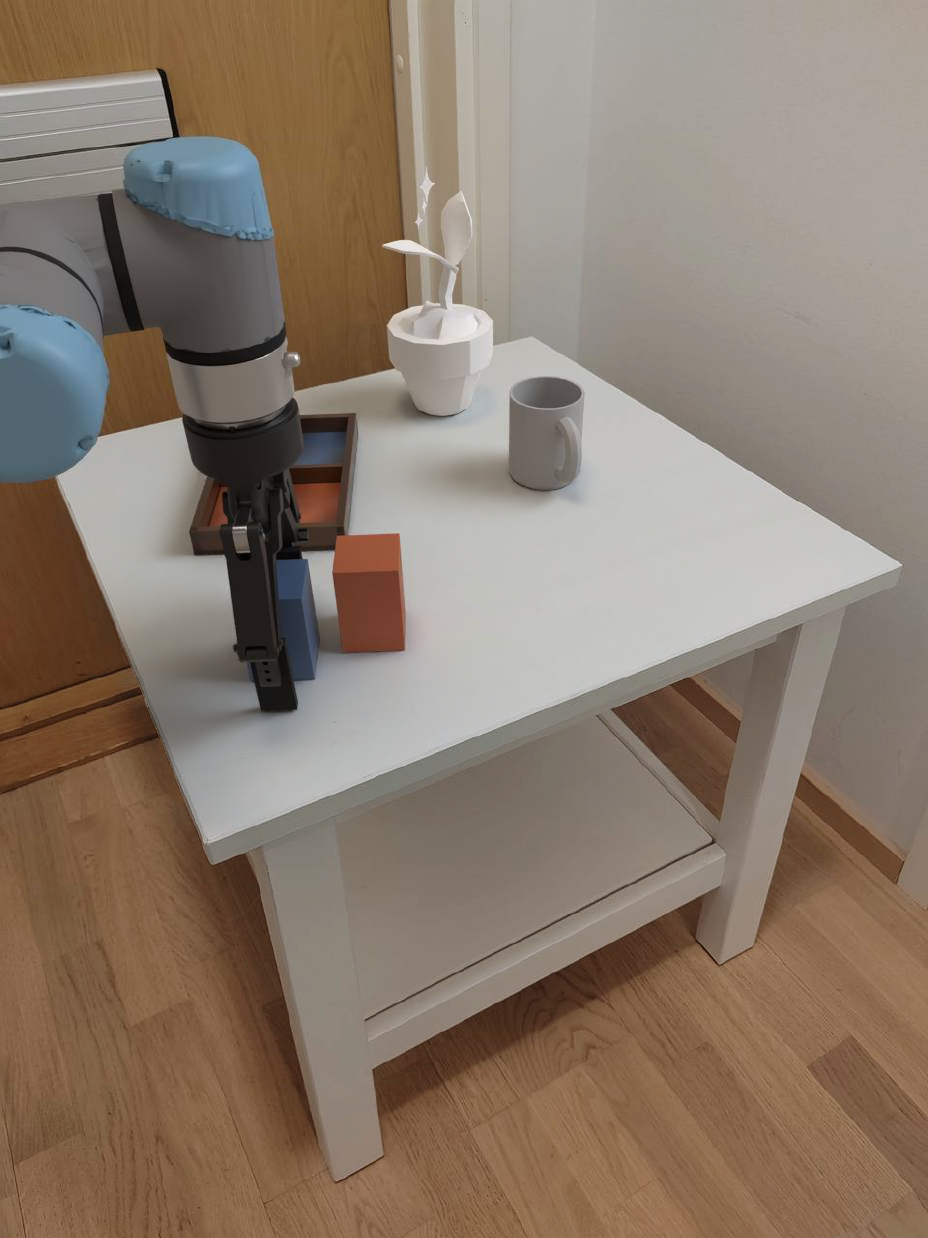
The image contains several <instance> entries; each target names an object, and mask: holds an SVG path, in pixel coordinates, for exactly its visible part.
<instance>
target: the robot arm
mask: <svg viewBox="0 0 928 1238" xmlns="http://www.w3.org/2000/svg"><path fill="white" fill-rule="evenodd" d="M122 168H123V177H124V179H123V181H122V185H123V188H121V189H114V190H111V192H106V193H105V192H104V193H97V194H87V195H77V196H69V197H67V196H66V197H57V198H48V199H37V200H36V199H35V200H27V201H17V202H8V203H7V202H6V203H0V483H7V484H26V483H27V484H28V483H35V482H42V481H46V480H50V479H52V478H55V477H58V476H60V475H61V474H64V473H65V472H67V471H69V470H71V469H72V468H74V467H75V466H76V465H77V464H78V463H79V462H81V461H82V460H83V459H84V458H85V457H86V456H87V455H88V453H89V452H90V451H91V450H92V448H93V447H94V446H95V445H96V444H97V442H98V438H99V435H100V433H101V430H102V427H103V422H104V415H105V407H106V404H107V394H108V392H109V389H110V383H111V382H110V370H109V367H108V363H107V361H106V358H105V349H104V348H105V347H104V338H105V337H107V336H112V335H120V334H127V333H131V332H132V333H133V332H140V331H145V330H146V329H147V330H148V329H153V328H160V331H161V334H162V340H163V345H164V348H165V349H164V351H165V355H166V359H167V364H168V368H169V373H170V377H171V381H172V385H173V386H172V387H173V390H174V394H175V400H176V404H177V408H178V409H179V410H180V411H181V413H182V418H181V422H182V427H183V430H184V434H185V438H186V439H185V440H186V443H187V447H188V452H189V455H190V460H191V463H192V465H193V466H194V467H195V469H196V470H197V471H198V472H199V473H201V474H202V475H203V476H206V477H207V476H208V477H210V478H213V479H216V480H218V481H220V482H222V483H223V484H225V485H226V486H227V487H228V490H227V491H223V493H222V503H223V512H224V514H225V515H226V517H227V521H228V524H221V526H220V530H219V534H220V537H221V540H222V544H223V549H224V553H225V554H224V557H225V561H226V563H225V564H226V570H227V577H228V584H229V592H230V600H231V609H232V615H233V616H232V617H233V623H234V630H235V638H236V643H234V644H233V645H232V646H233V647H232V649H233V653H236V654H237V657H238V661H239V663H241V664H243V663H246V662H250V665H251V669H252V674H253V678H254V682H253V683H254V687H255V691H256V695H257V701H258V705H259V707H260V708H259V709H260V712H279V711H297V710H298V706H299V701H298V696H297V689H296V684H295V680H294V679H293V673H292V668H291V663H290V658H289V652H288V647H287V642H286V637H281V624H280V609H279V594H278V579H277V564H276V560H293V559H304V558H303V551H301V546H295V543H302V542H308V540H309V534H308V528H298V527H297V523H300V519H301V513H300V511H299V507H298V503H297V499H296V495H295V491H294V487H293V483H292V479H291V475H290V471H289V467H291V466H292V465H293V464H294V463H295V462H296V461H297V460H298V459H299V458H300V456H301V454H302V451H303V446H304V443H303V436H302V429H301V422H300V416H299V415H300V410H299V404H298V402H297V401H298V400H297V399H296V398H295V397H294V395H295V392H296V390H295V384H294V383H295V382H294V377H293V375H294V374H293V368H297V367H299V366H300V364H301V357H300V354H299V353H298V352H297V351H288V350H287V348H288V344H289V341H288V337H287V334H288V333H287V326H286V319H285V318H286V317H285V312H284V303H283V295H282V289H281V282H280V274H279V267H278V260H277V251H276V245H275V238H274V237H275V231H274V230H275V229H274V227H273V225H272V222H271V218H270V212H269V206H268V201H267V196H266V192H265V191H266V190H265V187H264V181H263V177H262V172H261V166H260V163H259V160H258V158H257V156H255V154H254V153H252V151H251V150H250V149H249V148H248V147H247V146H245V145H243V144H242V143H240V142H238V141H236V140H234V139H230V138H225V137H219V136H207V135H206V136H205V135H204V136H203V135H201V136H184V137H183V136H182V137H172V138H167V139H165V140H163V141H152V142H148V143H145V144H142V145H138V146H137V147H135V148H133V149H132V150H130V152H128V154H126V155H125V157H124V159H123V163H122ZM265 538H266V540H267V542H264V541H265Z"/></svg>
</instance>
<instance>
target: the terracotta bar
mask: <svg viewBox="0 0 928 1238" xmlns="http://www.w3.org/2000/svg"><path fill="white" fill-rule="evenodd" d="M401 545H402V543H401V534H400V533H373V534H372V533H371V534H348V535H343V536H337V537H336V545H335V550H334V555H333V556H334V557H333V564H332V574H331V575H332V581H333V582H332V583H333V588H334V589H333V590H334V597H335V604H336V610H337V611H336V612H337V618H338V626H339V633H340V641H341V648H342V653H343V654H346V653H349V654H350V653H368V652H369V653H372V652H373V653H374V652H396V651H397V652H398V651H405V650H406V617H407V616H406V615H407V614H406V611H407V610H406V600H405V599H406V597H405V585H404V571H403V559H402V547H401Z"/></svg>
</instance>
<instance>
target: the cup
mask: <svg viewBox="0 0 928 1238" xmlns="http://www.w3.org/2000/svg"><path fill="white" fill-rule="evenodd" d="M585 394H586V393H585V390H584V388H583V387H582V385H580V384H579V383H578V382H576V381H574V380H572V379H569V378H566V377H560V376H553V375H539V376H532V377H527V378H524V379H521V380H519V381H517V382H515V383H514V384H513V385H512V386H511V387H510V390H509V404H508V405H509V408H508V409H509V410H508V412H509V413H508V414H509V415H508V420H509V421H508V471H509V474H510V476H511V477H512V479H513V480H514V481H515V482H516V483H518V484H519V485H521V486H523V487H525V488H527V489H528V488H529V489H532V490H541V491H550V490H556V489H557V490H558V489H561V488H564V487H567V486H568V485H570V484H572V483H573V482H574V481H575V480H576V479H577V478H578V476H579V474H580V471H581V468H582V458H583V451H582V449H583V448H582V447H583V446H582V438H583V423H584V411H585V410H584V406H585Z"/></svg>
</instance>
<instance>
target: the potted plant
mask: <svg viewBox="0 0 928 1238" xmlns="http://www.w3.org/2000/svg"><path fill="white" fill-rule="evenodd" d="M435 184H436V183H435V182H432V181H431V180H430V177H429V174H428V167H427V165H426V166H425V175H424V180H423V182H422V184H421V186H419V187H418V189H421V190H422V191H423V193H424V196H425V200H423V203H422V205H421V206H422V207H421V209H422V211H423V215H425V213H426V209H427V206H428V204H427V203H428V201H429V195H430V192H431V191H430V190H431V189H432V187H433V186H434V185H435ZM423 221H424V219H422V218H421V217H420V213H419V211H418V212H417V219H416V221H415V222H414V224H416V225H417V229H418V230H420V225H421V223H422V222H423ZM440 231H441V236H442V241H443V250H444V257H443V256H442V255H440V254H437V253H435V252H433V251H431V250H430V249H427V248H426V247H425V246H422V245H421V244H419V243H418V242H415V241H413V240H410V239H399V240H394V241H390V242H387V243H384V244H381V248H383V249H387V250H391V251H393V252H397V253H400V254H404V255H413V256H414V255H416V256H425V257H429V258H434V259H435V260H437V261H438V262H439V263H441V264H442V265H443V268H442V269H443V270H442V273H441V275H440V281H439V287H438V292H437V295H438V300H439V302H436V303H435V302H431V301H429V300H426V301H425V303H424V304H422V305H421V304H420V305H417V306H416V305H415V306H411V307H408V308H405V309H404V310H402V311H400V312H397V313H395V314H393V315H392V317H391V318H390V320H389V321H388V323H387V324H386V335H387V346H388V347H387V348H388V360H389V361H390V363H391V364H392V366H393V367H394V369H395V371H398V372H400V373H401V376H402V378H403V380H404V382H405V383H404V384H405V385H406V388H407V389H408V390H407V391H408V392H409V395H410V397H411V400H412V402H413V404H414V405H415V407H416V409H417V410H418V411H421V412H424V413H426V414H428V415H431V416H437V417H438V416H439V417H446V416H452V415H457V414H459V413H461V412H463V411H464V410H467V409H469V408H470V405H471V403H472V400H473V397H474V395H475V392H476V389H477V386H478V383H479V379H480V376H481V373H482V370H483V369H486V368H487V367H488V366H489V365H490V363H491V360H492V358H493V355H494V320H493V319H492V318H491V316H489V315H488V314H487V313H486V312H485V310H482V309H480V308H476V307H474V306H470V305H467V304H463V303H461V304H459V303H453V292H454V289H455V285H456V281H457V274H458V273H459V270H460V268H459V267H458V266H457V265H459V264H460V262H461V261H462V259H463V258H464V256H465V255H466V253H467V251H468V249H469V246H470V244H471V242H472V240H473V237H474V233H473V231H474V230H473V219H472V216H471V213H470V211H469V207H468V205H467V202H466V199H465V196H464V193H463V190H460V191H459V192H457V193H456V194H455V195H453V196H452V197H451V198H449V199H448V200H447V201H446V203H445V205H444V206H443V208H442V210H441V211H440Z"/></svg>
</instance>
